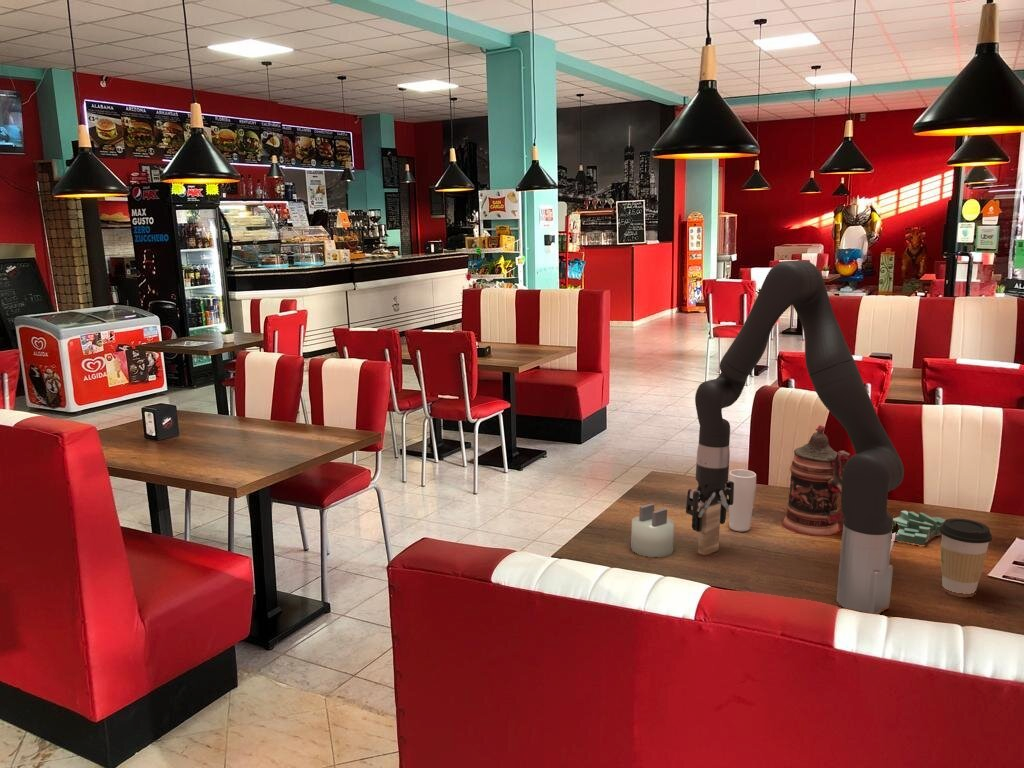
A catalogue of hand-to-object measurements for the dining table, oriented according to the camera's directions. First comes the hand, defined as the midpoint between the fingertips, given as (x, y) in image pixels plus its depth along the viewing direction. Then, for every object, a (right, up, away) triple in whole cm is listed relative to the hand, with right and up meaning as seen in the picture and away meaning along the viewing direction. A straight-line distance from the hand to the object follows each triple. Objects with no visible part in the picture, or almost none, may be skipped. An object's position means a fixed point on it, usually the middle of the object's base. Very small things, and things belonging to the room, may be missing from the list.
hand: (708, 526), depth 194 cm
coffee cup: (+49, -11, -20) cm, 54 cm away
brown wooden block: (0, -6, +1) cm, 6 cm away
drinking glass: (+12, -3, +16) cm, 20 cm away
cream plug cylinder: (-13, -6, +2) cm, 15 cm away
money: (+55, -4, +14) cm, 57 cm away
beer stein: (+31, -3, +16) cm, 35 cm away
